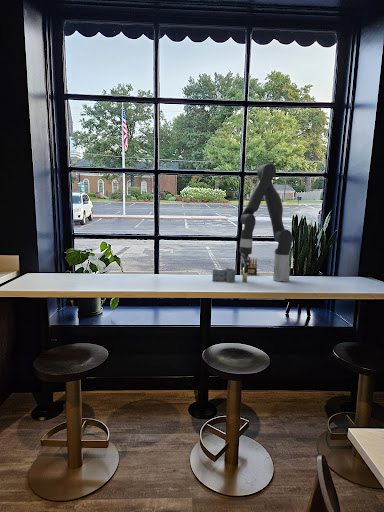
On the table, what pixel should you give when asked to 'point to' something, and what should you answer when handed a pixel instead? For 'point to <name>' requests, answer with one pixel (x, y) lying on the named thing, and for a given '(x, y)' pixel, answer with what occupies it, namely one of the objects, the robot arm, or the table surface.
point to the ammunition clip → (252, 268)
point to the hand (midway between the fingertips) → (244, 271)
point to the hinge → (224, 275)
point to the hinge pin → (244, 276)
